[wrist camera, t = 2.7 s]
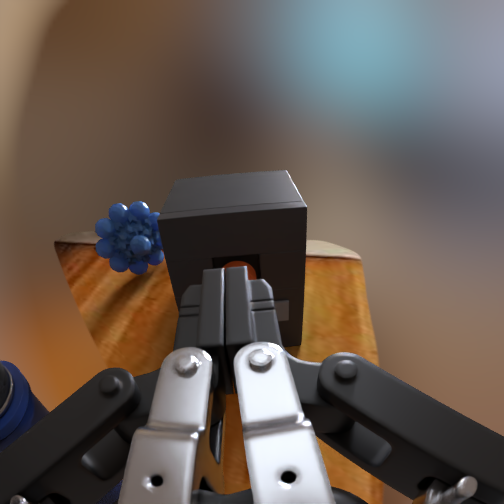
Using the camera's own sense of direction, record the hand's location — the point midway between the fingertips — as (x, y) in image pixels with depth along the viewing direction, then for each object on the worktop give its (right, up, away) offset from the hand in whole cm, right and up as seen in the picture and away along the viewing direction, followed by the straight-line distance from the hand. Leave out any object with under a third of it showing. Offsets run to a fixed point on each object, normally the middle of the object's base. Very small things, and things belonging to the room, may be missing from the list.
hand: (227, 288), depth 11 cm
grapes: (-15, -2, +35) cm, 38 cm away
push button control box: (0, -7, +26) cm, 27 cm away
